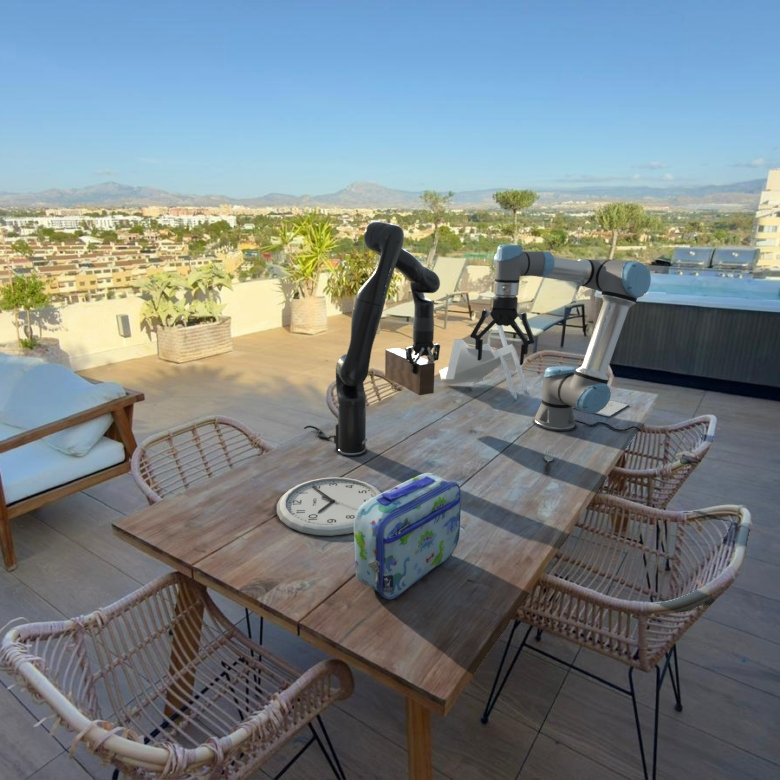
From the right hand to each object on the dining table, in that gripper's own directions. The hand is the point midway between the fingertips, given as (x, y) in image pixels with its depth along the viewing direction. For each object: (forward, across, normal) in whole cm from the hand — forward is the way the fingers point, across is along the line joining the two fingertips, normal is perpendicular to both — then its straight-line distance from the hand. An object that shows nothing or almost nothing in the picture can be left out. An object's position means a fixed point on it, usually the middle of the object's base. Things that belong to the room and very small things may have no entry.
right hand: (500, 361), depth 170 cm
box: (+18, -39, +20) cm, 47 cm away
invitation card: (+32, +34, +66) cm, 81 cm away
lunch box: (+32, -4, -73) cm, 80 cm away
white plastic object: (+32, -19, +65) cm, 75 cm away
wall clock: (+32, -33, -54) cm, 71 cm away
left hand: (+11, -31, +14) cm, 35 cm away
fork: (+32, +18, -4) cm, 37 cm away
